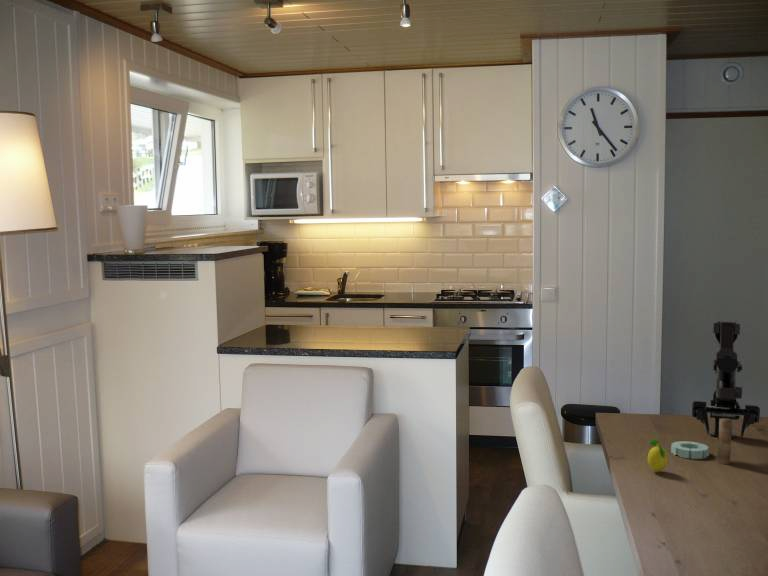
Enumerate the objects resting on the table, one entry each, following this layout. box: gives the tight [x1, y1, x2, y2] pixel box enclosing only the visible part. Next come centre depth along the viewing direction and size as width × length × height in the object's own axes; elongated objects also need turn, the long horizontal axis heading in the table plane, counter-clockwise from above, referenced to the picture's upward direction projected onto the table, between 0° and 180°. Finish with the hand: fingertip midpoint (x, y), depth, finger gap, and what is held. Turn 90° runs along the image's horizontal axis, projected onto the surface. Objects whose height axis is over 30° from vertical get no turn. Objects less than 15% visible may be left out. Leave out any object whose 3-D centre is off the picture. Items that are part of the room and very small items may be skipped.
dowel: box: [717, 418, 732, 465], centre depth 246 cm, size 3×3×13 cm
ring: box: [670, 440, 710, 460], centre depth 255 cm, size 10×10×2 cm
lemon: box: [647, 438, 669, 473], centre depth 237 cm, size 7×6×10 cm
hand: (724, 435), depth 245 cm, fingers open, 9 cm apart
